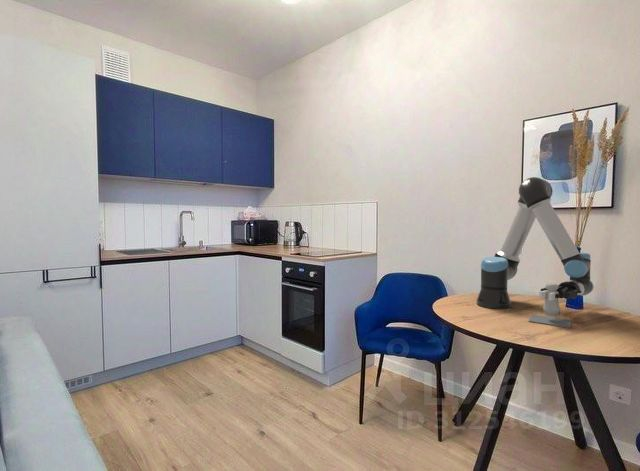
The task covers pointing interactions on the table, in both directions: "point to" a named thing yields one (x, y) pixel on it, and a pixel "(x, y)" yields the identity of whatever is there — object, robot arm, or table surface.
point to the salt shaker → (551, 301)
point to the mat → (550, 321)
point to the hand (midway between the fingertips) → (545, 296)
